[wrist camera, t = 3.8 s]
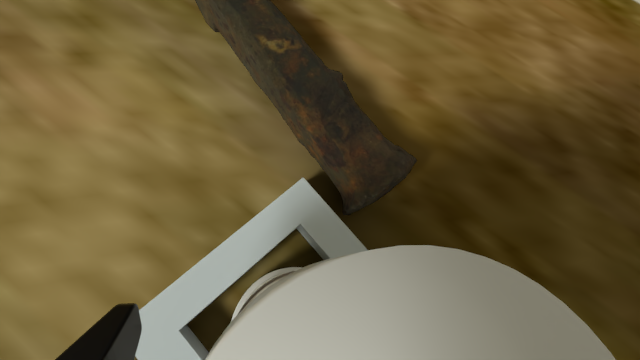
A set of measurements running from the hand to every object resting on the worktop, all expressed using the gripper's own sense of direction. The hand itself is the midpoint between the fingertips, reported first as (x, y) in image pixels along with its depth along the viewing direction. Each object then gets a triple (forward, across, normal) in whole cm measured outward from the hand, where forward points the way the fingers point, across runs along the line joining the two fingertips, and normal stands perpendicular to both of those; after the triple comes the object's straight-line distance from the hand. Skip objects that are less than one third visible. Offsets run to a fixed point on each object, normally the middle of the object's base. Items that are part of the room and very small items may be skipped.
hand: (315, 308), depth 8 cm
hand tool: (+13, +2, -3) cm, 14 cm away
